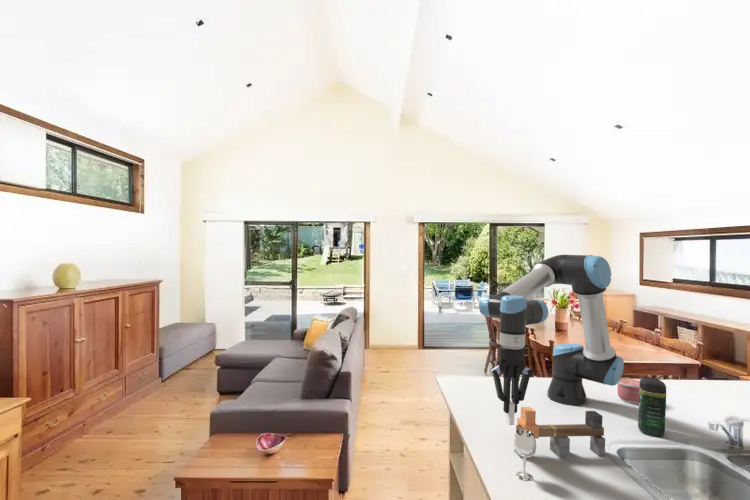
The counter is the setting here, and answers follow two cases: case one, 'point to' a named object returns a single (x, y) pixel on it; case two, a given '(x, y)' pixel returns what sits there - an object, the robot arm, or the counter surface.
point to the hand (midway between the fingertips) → (509, 423)
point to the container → (629, 390)
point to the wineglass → (525, 450)
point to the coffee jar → (652, 406)
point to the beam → (562, 442)
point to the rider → (528, 420)
